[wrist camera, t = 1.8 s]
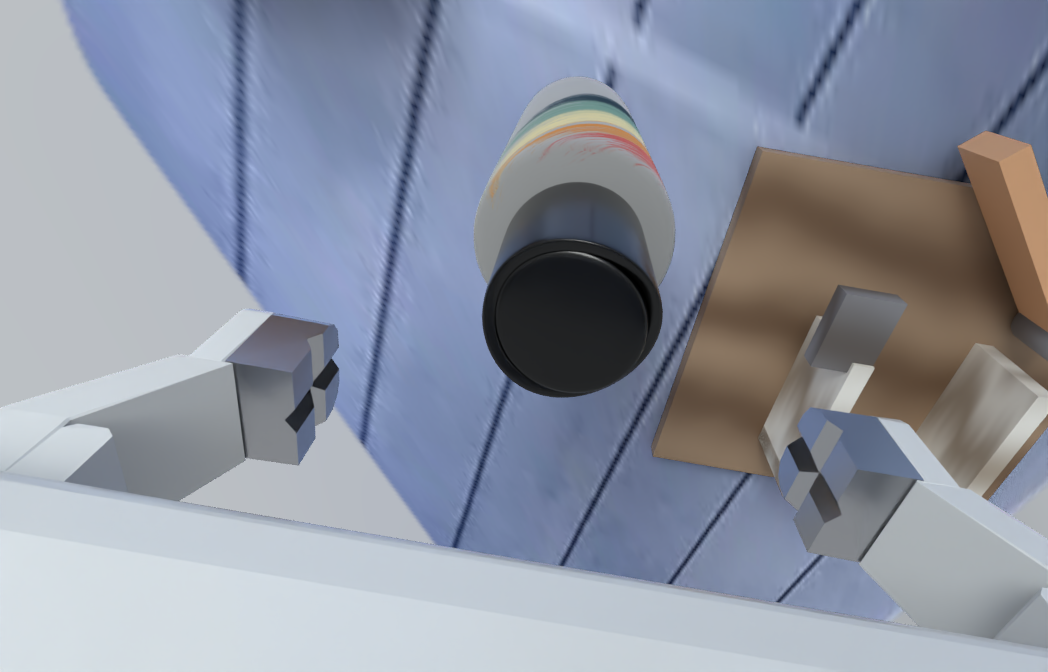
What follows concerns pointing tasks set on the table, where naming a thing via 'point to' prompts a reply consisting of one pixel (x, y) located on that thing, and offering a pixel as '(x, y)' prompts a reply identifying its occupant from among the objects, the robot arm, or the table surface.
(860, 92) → the table surface
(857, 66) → the table surface
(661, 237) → the lotion bottle
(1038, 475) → the table surface
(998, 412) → the cradle
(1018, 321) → the arm
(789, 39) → the table surface
